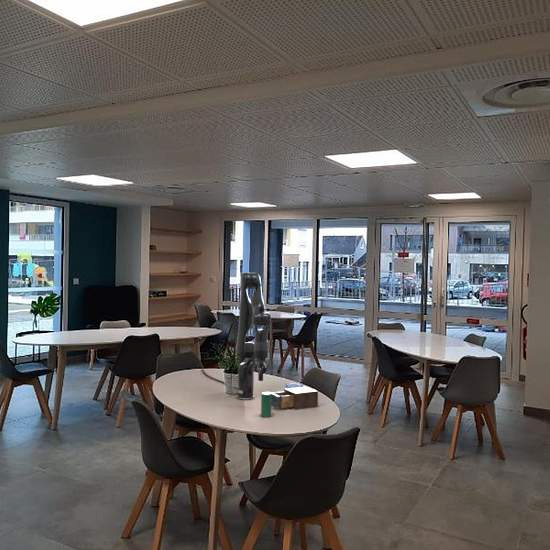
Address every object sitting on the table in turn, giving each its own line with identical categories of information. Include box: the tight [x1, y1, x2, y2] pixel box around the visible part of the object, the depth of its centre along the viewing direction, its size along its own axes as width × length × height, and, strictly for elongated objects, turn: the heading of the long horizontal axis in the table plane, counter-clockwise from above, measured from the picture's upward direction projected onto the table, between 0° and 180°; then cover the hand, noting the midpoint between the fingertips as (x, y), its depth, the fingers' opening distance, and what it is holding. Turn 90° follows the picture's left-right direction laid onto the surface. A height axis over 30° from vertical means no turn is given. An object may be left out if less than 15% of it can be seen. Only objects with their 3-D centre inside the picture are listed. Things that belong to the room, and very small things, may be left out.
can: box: [260, 391, 272, 418], centre depth 281 cm, size 5×5×12 cm
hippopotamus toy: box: [284, 382, 304, 389], centre depth 323 cm, size 11×15×10 cm
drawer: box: [268, 391, 294, 410], centre depth 298 cm, size 18×12×7 cm, turn 117°
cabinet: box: [283, 386, 319, 410], centre depth 304 cm, size 15×13×9 cm
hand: (260, 380), depth 292 cm, fingers closed
